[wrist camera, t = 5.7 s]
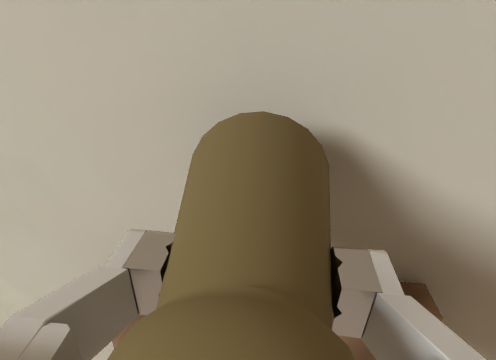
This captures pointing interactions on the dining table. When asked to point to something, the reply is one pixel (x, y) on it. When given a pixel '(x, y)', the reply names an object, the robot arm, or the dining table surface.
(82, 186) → the dining table surface
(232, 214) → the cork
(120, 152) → the dining table surface
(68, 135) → the dining table surface
